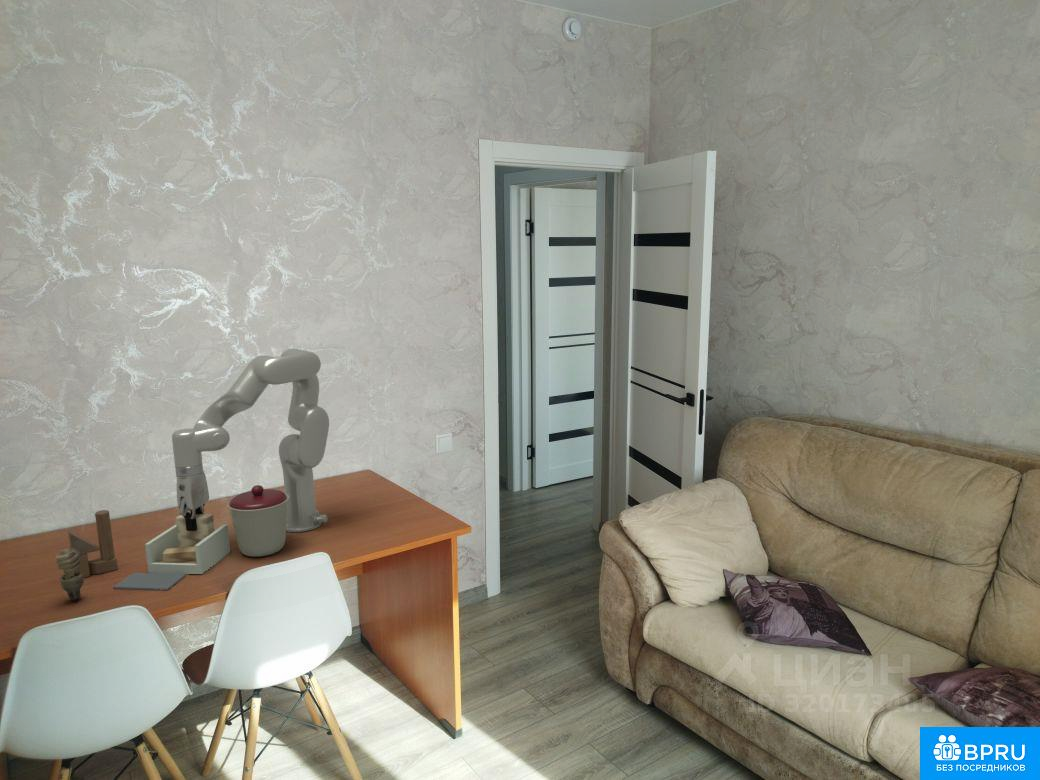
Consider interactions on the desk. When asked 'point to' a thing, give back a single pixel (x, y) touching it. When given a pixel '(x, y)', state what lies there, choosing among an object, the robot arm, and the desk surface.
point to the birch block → (194, 537)
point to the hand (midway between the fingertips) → (195, 527)
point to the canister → (259, 520)
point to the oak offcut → (179, 555)
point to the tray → (205, 551)
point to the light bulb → (70, 572)
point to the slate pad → (149, 581)
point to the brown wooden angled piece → (96, 547)
